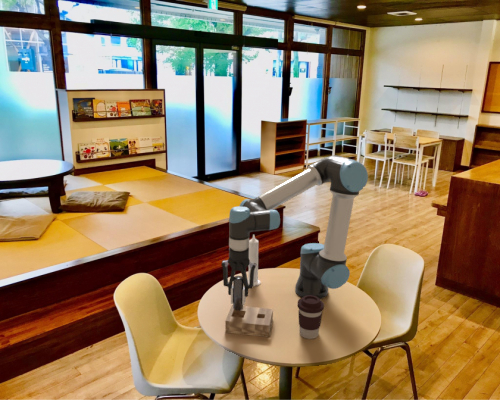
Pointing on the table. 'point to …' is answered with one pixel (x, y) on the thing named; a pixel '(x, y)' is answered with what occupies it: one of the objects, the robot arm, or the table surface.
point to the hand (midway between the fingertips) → (238, 302)
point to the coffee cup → (310, 316)
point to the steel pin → (238, 293)
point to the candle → (253, 259)
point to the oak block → (249, 321)
